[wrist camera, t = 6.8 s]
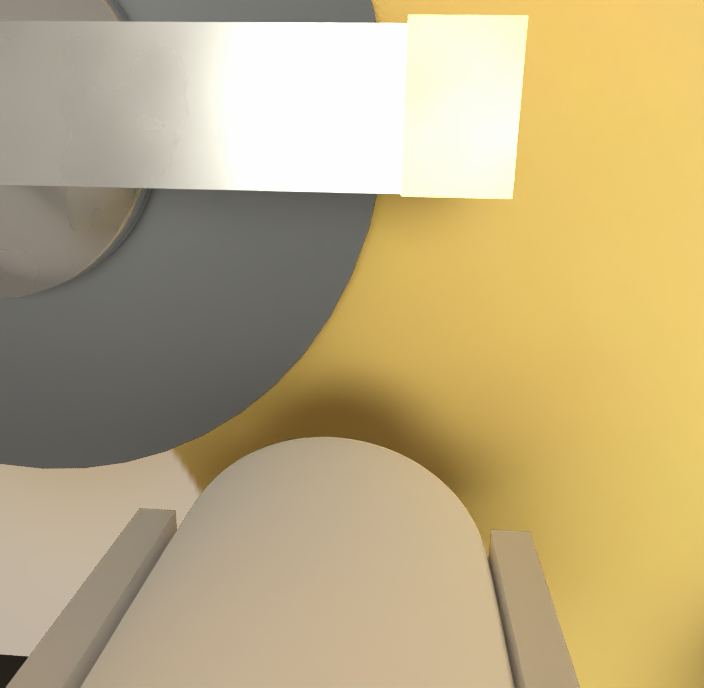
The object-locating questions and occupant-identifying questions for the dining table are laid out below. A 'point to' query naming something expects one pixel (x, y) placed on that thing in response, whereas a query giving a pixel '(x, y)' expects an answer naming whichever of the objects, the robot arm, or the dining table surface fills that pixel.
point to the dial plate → (179, 301)
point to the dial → (235, 118)
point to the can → (316, 582)
